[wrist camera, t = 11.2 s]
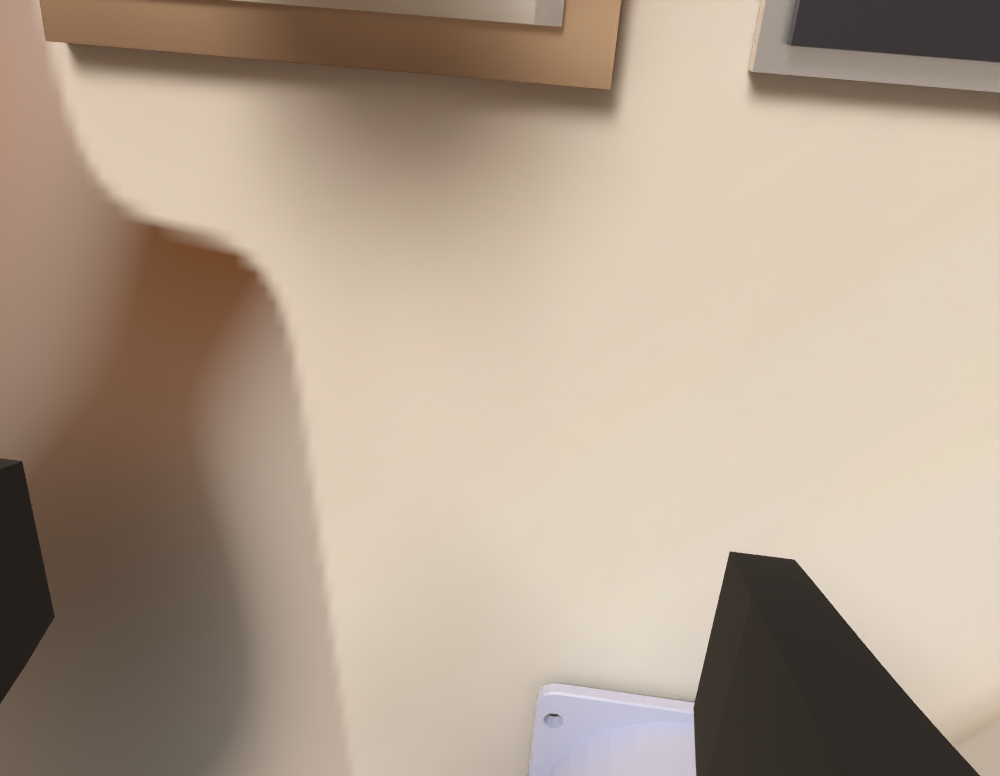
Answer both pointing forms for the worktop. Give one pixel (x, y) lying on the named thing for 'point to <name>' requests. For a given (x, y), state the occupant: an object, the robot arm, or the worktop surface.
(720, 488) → the worktop surface
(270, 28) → the board
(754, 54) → the pad
